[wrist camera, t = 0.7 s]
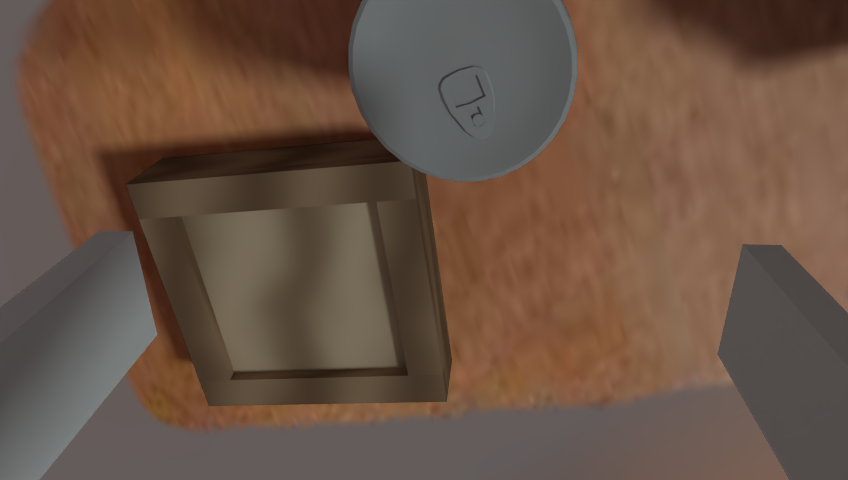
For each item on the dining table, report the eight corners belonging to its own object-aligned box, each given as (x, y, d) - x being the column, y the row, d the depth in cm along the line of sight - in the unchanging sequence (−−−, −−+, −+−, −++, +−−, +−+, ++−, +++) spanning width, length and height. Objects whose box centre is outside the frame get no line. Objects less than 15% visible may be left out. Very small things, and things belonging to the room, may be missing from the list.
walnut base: (420, 135, 33) (410, 160, 30) (451, 360, 40) (446, 401, 37) (161, 158, 36) (125, 184, 33) (232, 366, 43) (209, 405, 39)
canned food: (463, 129, 33) (444, 222, 23) (363, 2, 31) (295, 47, 21) (590, 35, 30) (629, 98, 20) (491, -113, 28) (480, -121, 18)
